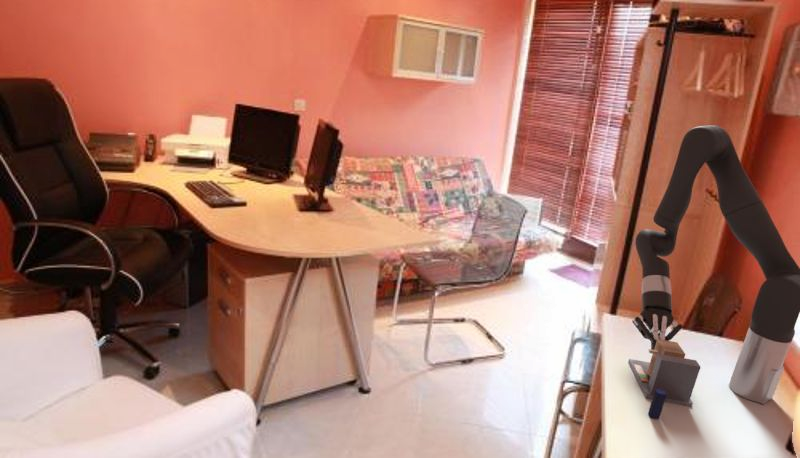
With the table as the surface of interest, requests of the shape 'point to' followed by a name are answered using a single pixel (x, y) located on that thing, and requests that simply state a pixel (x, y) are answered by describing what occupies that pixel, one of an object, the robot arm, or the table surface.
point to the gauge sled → (664, 352)
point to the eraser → (657, 404)
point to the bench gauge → (667, 377)
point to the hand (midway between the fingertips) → (657, 355)
